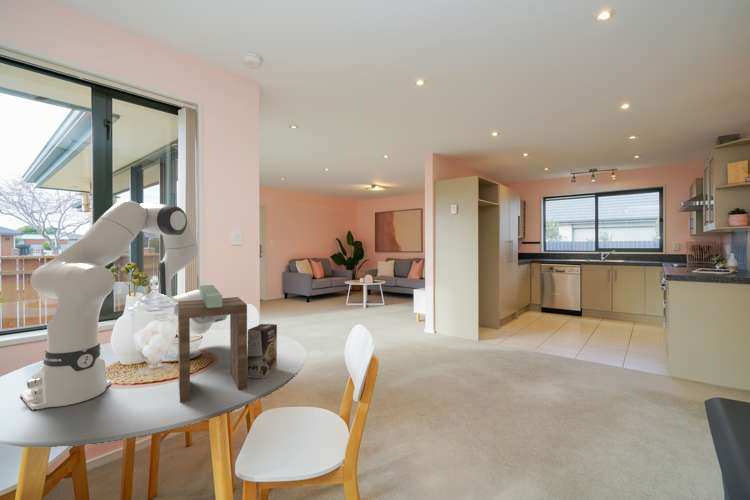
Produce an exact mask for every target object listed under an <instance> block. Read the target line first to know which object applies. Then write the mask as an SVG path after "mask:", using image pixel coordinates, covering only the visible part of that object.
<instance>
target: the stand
mask: <svg viewBox="0 0 750 500" xmlns="http://www.w3.org/2000/svg"><path fill="white" fill-rule="evenodd" d="M219 315H228V316H230V317H229V321H230V322H229V325H230V327H229V331H230V332H229V333H230V334H229V335H230V337H229V338H230V339H229V340H230V341H229V342H230V344H229V345H230V347H229V348H230V351H229V353H230V354H229V355H230V375H231V377H232V379H233V381H234V384H235V386H236V388H237V391H241V390H246V389H248V377H247V371H248V304H247V303H245V301H244V300H242V299H241V298H240V297H238V296H235V297H234V296H233V297H222V307H214V308H207V307H206V305H205V303H204V301H203V300H191V301H178V320H177V323H178V324H177V325H178V326H177V329H178V333H177V335H178V336H177V337H178V338H177V340H178V342H177V343H178V348H177V349H178V350H177V352H178V354H177V356H178V358H177V359H178V361H177V362H178V363H177V364H178V391H179V392H178V393H179V403H183V402H188V401H191V364H190V363H191V357H190V356H191V352H190V351H191V350H190V347H191V346H190V345H191V344H190V342H191V339H190V337H191V336H190V335H191V334H190V333H191V330H190V318H198V317H209V316H219Z"/></svg>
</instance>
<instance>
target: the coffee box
mask: <svg viewBox="0 0 750 500" xmlns="http://www.w3.org/2000/svg"><path fill="white" fill-rule="evenodd" d="M277 338H278V324H275V323H274V324H273V323H271V324H270V323H260V324H258V325H256V326H253V327H251V328H249V329H247V378H251V379H253V378H254V379H255V378H256V379H260V380H261V379H266V378H267V377H268V376H269V375H271V374H272V373H273V372H274V371H276V370H277V369H278V358H277V357H278V353H277V352H278V349H277V348H278V343H277V342H278V339H277Z"/></svg>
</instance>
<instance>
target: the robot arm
mask: <svg viewBox="0 0 750 500" xmlns="http://www.w3.org/2000/svg"><path fill="white" fill-rule="evenodd" d="M142 232H143V233H148V234H152V235H161V236H162V238H163V244H164V245H163V246H164V250H165V252H164V256H163V258H162V259H161V260H160V261H159V263H158V267H157V271H158V273H157V280H158V282H159V286H158V294H159V293H161V294H164V295H167V296H168V297H170V298H171V299H173V300H174V301H176V302H178V301H191V300H202V298H201V296H200V288H199V289H195V290H191V291H188V292H185V293H181V294H177V295H174V296H172V279H173V277H175V275H176V274H177V273H179V272H180V271H182V270H184V269H185V268H186V267H188V266H190V265H192V263H193V262H194V261H195V260H196V259H197V256H198V253H199V251H198V245H197V244H198V243H197V239H196V235H195V232H194V229H193V226H192V224H191V222H190V220H189V219H188V218H187V214H186V213H185V211H184V210H183V209H182V208H181V207H179V206H177V205H174V204H173V205H172V204H163V203H157V202H137V201H134V200H130V199H123V200H120V201H118V202H116V203H115V204H113V205H112V206H111V207H110V208H109V209H107V210H106V211H104V213H103V214H102V215H101V216H100V217H99V218H98V219H97V220H96V221H95V222H94V223H93V224H92V226H91V227H89V229H88V230H87V231H86V232H85V233H84V234H83V235H82V236H81V237H80V238H79V239H78V240H76V242H74V243H73V244H72V245H71V246H69V247H68V248H66V249H65V250H64V251H62V252H61V253H59V254H58V255H57V256H56V257H54V258H53V259H51V260H50V261H48V262H46V263H44V264H42V265H40V266H38V267H37V268H36V269H35V270H33V272H32V274H31V276H30V285H31V288H32V289H33V290H34V291H35V292H37V293H38V294H40V295H42V296H44V297H46V298H48V299H55V300H57V305H56V308H55V312H54V314H53V316H52V318H51V319H49V321H48V322H47V325H46V335H47V336H46V340H47V342H46V343H47V344H46V346H47V349H46V350H45V351H44V352H45V354H44V356H43V363H42V365H41V366H40V367H39V369H37V371H35V372H34V373H33V374H32V376H31V379H28V380H27V381H26V387H27V389H26V390H23V391H21V392H20V395H19V397H20V396H21V397H22V398H23V399H22V398H21V397H20V398H21V399H22V401H23V402H24V401H25V402H26V403H27V404H26V403H25V402H24V403H25V404H26V406H28V408H29V407H30V408H31V409H32V411H35V410H34V409H36V410H41V409H45V408H46V409H47V408H54V407H55V408H56V407H63V406H71V405H74V404H79V403H82V402H84V401H88V400H91V399H94V398H95V397H98V396H99V395H101V394H103V393H104V392H105V391H106V389H107V387H109V386H110V385H111V384H112V380H111V379H108V378H107V369H106V362H105V361H106V360H105V359H104V358H102V357H100V356H101V343H99V318H100V314H101V313H100V312H101V309H102V307H103V304H104V301H105V300H106V298H107V297H108V296H109V295H110V294H111V292H112V291H113V290H114V288H115V285H116V279H115V275H114V273H112V271H111V269H109V268H107V267H106V266H108V265H110V264H111V263H113V262H115V261H117V260H118V259H120V258H121V256H122V255H123V254H124V253H125V252H126V250H127V249H128V248H129V247H130V245H131V244H132V243H133V242H134V240H135V239H136V237H137V236H138V235H139V233H142ZM173 307H174V314H175V315H176V316H178V304H175V305H173ZM227 316H229V315H219V316H209V317H198V318H190V332H192V334H195V333H196V334H195V335H203V334H206V333H207V332H208V331H209V330H210V329H211V327H212V324H214V323H218V322H221V321H225V320H227V318H228V317H227ZM30 408H29V409H30ZM31 409H30V410H31Z"/></svg>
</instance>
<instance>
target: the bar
mask: <svg viewBox="0 0 750 500" xmlns="http://www.w3.org/2000/svg"><path fill="white" fill-rule="evenodd" d="M199 287H200V288H199V290H200V296H201V298H202V300H203V301H204V303H205V305H206V307H207V308H214V307H222V298H223V294H222V293H221V292H220V291H219V289H217V288H216V286H214V285H213V284H208V285H207V284H206V285H205V284H204V285H203V284H202V285H200V286H199Z"/></svg>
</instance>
